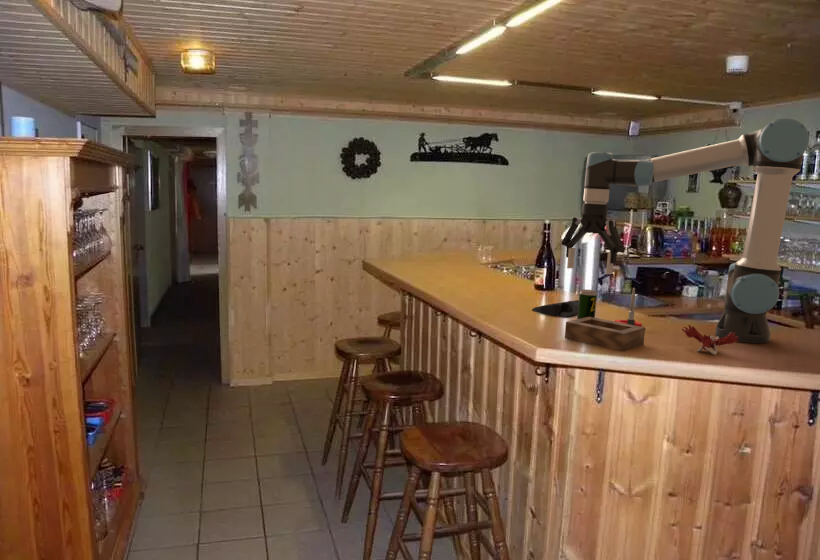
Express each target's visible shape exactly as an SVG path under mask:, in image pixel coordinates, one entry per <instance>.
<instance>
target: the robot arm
mask: <svg viewBox="0 0 820 560" xmlns="http://www.w3.org/2000/svg"><path fill="white" fill-rule="evenodd" d="M809 143H810V135H809V131H808V129H807V127H806V126H805V124H803V123H802V122H801V121H799V120H796V119H794V118H784V117H783V118H777V119H774V120H772V121H770V122H768V123H766V125H765V126H763V127H762V128H760V129H759V130H758V129H757V130H755V131H752V132H749V133H745V134H741V136H740V137H739V138H736V139H733V140H730V141H725V142H719V143H716V144H711V145H706V146H702V147H697V148H693V149H688V150H684V151H680V152H674V153H671V154H666V155H662V156H657V157H652V158H649V159H614V155H613V153H612V152H606V151H605V152H604V151H593V152H590V153H588V155H587V159H586V160H587V161H586V166H585V177H584V178H585V179H584V189H583V190H584V191H583V202H584V203H582V213H581V214H582V215H581V216H582V217H580V216H577V217H572V221H571V224H570V226H569V227H568V229H567V232H566V233H565V236H563V239H562V240H561V245H562V246H564V247H566V252H565V257H566V258H567V264H566V267H567V269H575V267H574V266H575V259H576V258H575V257H576V247H575V245H577V244H578V242H579V241H580V239H582V238H583V236H585V234H595V235H597V234H598V235H599V236H600V238H601V239H602V240H603V242H604V244H605V245H606V247H607V249H608V250H609V252H607V257H606V258H607V259H606V267H605V268H606V269H605V270H606V271H605V275H612V274H613V272H614V271H613V270H614V264H616V263H617V257H618V253H620V252H624V250H625V249H624V246H623V243H622V239H621V237H620V234H619V232H618V228H617V221H616V220H615V219H614V220H613V219H610V220H607V217H608V211H609V208H608V207H609V205H608V204H607V203H609V200H610V189H611V187H610V186H611V185H619V186H620V185H621V186H631V187H643V186H644V187H648V186H651V185H652V183H657V182H661V181H666V180H671V179H676V178H681V177H685V176H689V175H697V174H700V173H705V172H711V171H715V170H720V169H724V168H729V167H735V166H739V165H740V166H741V165H743V166H745V167H751V166H752V169H753V170H754V171H755V172H756V174H757V176H756V180H755V181H756V182H755V187H754V192H753V195H752V196H753V199H752V203H751V209H750V214H749V219H748V224H747V231H746V235H745V241H744V246H743V253H742V257H741V258H740V259H739V260H737V261H736V262H733V263H731V264H730V265H729V268H728V271H727V275H728V276H727V283H726V289H725V290H726V291H725V292H726V293H725V297H724V298H725V299H724V307H723V308H724V310H723V312H722V314H721V316H720V318H719V320H718V322H717V324H716V327H715V332H714V335H716V337H717V336H719V338H723V337H725V336H727V335H728V334H729V333H730V332H733V333H732V334H734V332H735V334H736V335H735V336H734V337H736V336H737V337H739V338H737V340H738V339H739V340H738V342H739V343H740V342H741V343H749V344H765V343H767V344H768V343H769V342H770V340H771V331H770V330H771V329H770V326H769V322H768V318H767V314H768V313H767V312H768V311H770V310H771V309H773V308H774V307H775V306H776V304H777V303H778V300H779V299H780V298H779V297H780V289H779V283H780V276H781V273H782V272H781V271H782V267H780V265H779V264H778V262H777V260H778V254H779V249H780V244H781V239H782V234H783V228H784V224H785V218H786V214H787V208H788V202H789V198H790V192H791V187H792V182H793V181H792V180H793V177H794V176H795V175H797V174H798V173H799V172H800V171H801V167H802V165H803V164H802V163H803V158H804V154H805V152H806V151H807V149H808V146H809ZM579 225H581V227H580V228H579V230H578V227H579ZM606 226H607V227H608V230H609V233H610V235H609V234H608V231H607V230H606ZM577 230H578V231H577ZM576 231H577V232H576ZM610 236H611V237H610Z"/></svg>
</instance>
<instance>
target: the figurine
mask: <svg viewBox="0 0 820 560" xmlns="http://www.w3.org/2000/svg"><path fill="white" fill-rule="evenodd" d="M681 330H682V331H683V333H684V334H685V335H686V336H687V338H689V339H692V338H693V339H695V340H696V341H698V342H699V343H702V345H701V346H700V347H699V348H698V349H697V350H696V352H700V351H701V350H703V351H708V352H710V353H711V354H712V355H713V356H716V355H717V354H718V348H717V347H718V346H719V347H721V346H723V345H725V346H726V345H731V344H733V343H738V342H739V341H738V340H739V339H738V340H737V338H739V337H737V336H736V337H734V336H735V335H736V334H735V332H734V334H732V333H733V332H730V333H729V334H728V335H727V336H725V337H723V338H721V337H719V336H717V335H716V337H715V336H714V335H713V334H712V335H708V336H707V334H703V335H702V333H700V332H699V331H698V329H697V328H695V326H692V325H691V324H688V327H686V326H683V327H682V328H681Z"/></svg>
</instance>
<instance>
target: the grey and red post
mask: <svg viewBox="0 0 820 560" xmlns="http://www.w3.org/2000/svg"><path fill="white" fill-rule="evenodd" d="M635 300H636V288H635V287H632V292H631V296H630V306H629V311H628V318H626V319H615V320H614V322H619V323H624V324H629V325H634V326H640V327H643V325H642V322H640V321H636V320H635Z"/></svg>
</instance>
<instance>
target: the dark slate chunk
mask: <svg viewBox="0 0 820 560" xmlns="http://www.w3.org/2000/svg"><path fill="white" fill-rule="evenodd" d="M578 303H579V299H577V300H568V301H561V302H555V303H551V304H544V305H540V306H535V307H533V308H532V309H531V311H532V312H534V313H538V314H543V315H545V316H546V315H547V316H552V317H559V318H561V317H562V318H565V319H567V318H570V317H574V316H577V315H578Z"/></svg>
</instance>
